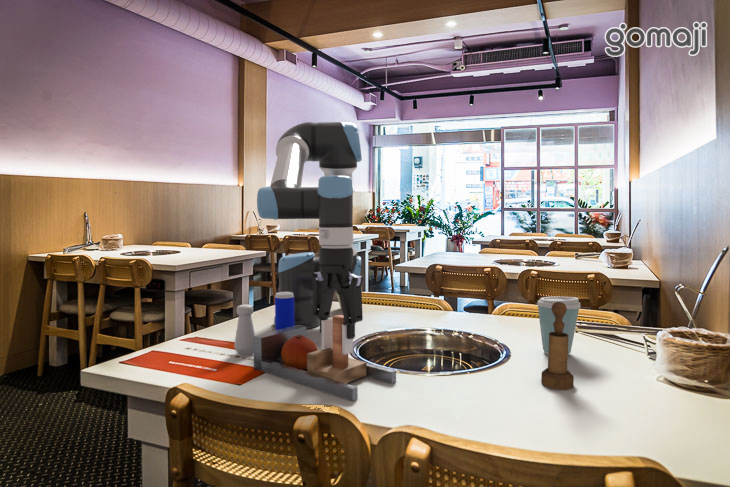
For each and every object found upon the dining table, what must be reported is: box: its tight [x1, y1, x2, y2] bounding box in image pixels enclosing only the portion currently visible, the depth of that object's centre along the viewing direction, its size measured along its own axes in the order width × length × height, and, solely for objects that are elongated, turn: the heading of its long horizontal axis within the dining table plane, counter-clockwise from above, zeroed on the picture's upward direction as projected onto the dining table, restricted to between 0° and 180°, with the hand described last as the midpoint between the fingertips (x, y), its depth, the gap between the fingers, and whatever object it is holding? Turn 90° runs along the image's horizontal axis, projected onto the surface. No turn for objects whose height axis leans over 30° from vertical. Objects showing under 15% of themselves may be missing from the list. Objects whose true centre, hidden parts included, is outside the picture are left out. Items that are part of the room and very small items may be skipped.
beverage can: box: [274, 291, 294, 330], centre depth 139 cm, size 5×5×15 cm
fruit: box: [281, 335, 319, 371], centre depth 121 cm, size 9×9×8 cm
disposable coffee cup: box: [536, 296, 582, 357], centre depth 132 cm, size 11×11×15 cm
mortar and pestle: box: [540, 302, 574, 391], centre depth 109 cm, size 7×6×18 cm
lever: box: [306, 314, 368, 384], centre depth 113 cm, size 11×8×14 cm
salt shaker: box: [233, 303, 256, 357], centre depth 132 cm, size 6×6×13 cm
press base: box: [253, 325, 397, 402], centre depth 116 cm, size 14×32×8 cm, turn 50°
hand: (337, 350), depth 113 cm, fingers closed on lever, 6 cm apart
